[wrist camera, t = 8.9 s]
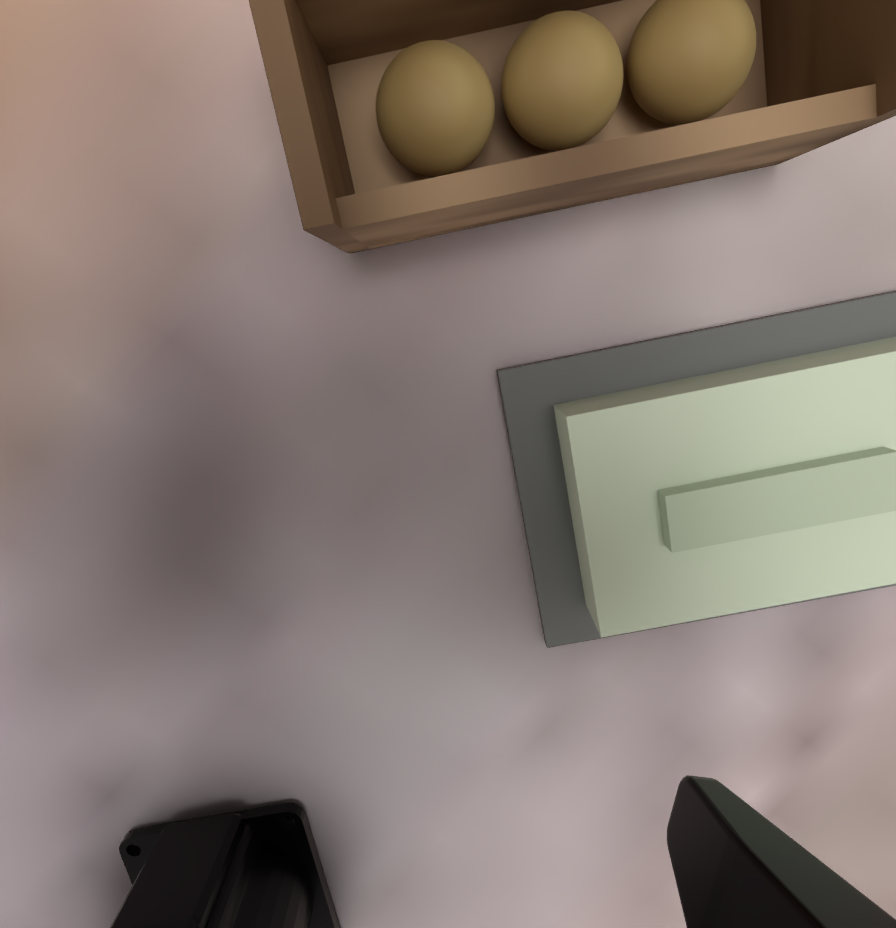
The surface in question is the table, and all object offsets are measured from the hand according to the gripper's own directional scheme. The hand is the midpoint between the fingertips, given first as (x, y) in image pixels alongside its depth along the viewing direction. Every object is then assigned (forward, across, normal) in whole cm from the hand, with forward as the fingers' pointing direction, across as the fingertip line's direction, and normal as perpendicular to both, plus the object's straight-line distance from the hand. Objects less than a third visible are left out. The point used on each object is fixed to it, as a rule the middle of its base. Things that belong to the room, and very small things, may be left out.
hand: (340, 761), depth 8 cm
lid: (+11, -10, -2) cm, 15 cm away
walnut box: (+12, -2, -11) cm, 16 cm away
